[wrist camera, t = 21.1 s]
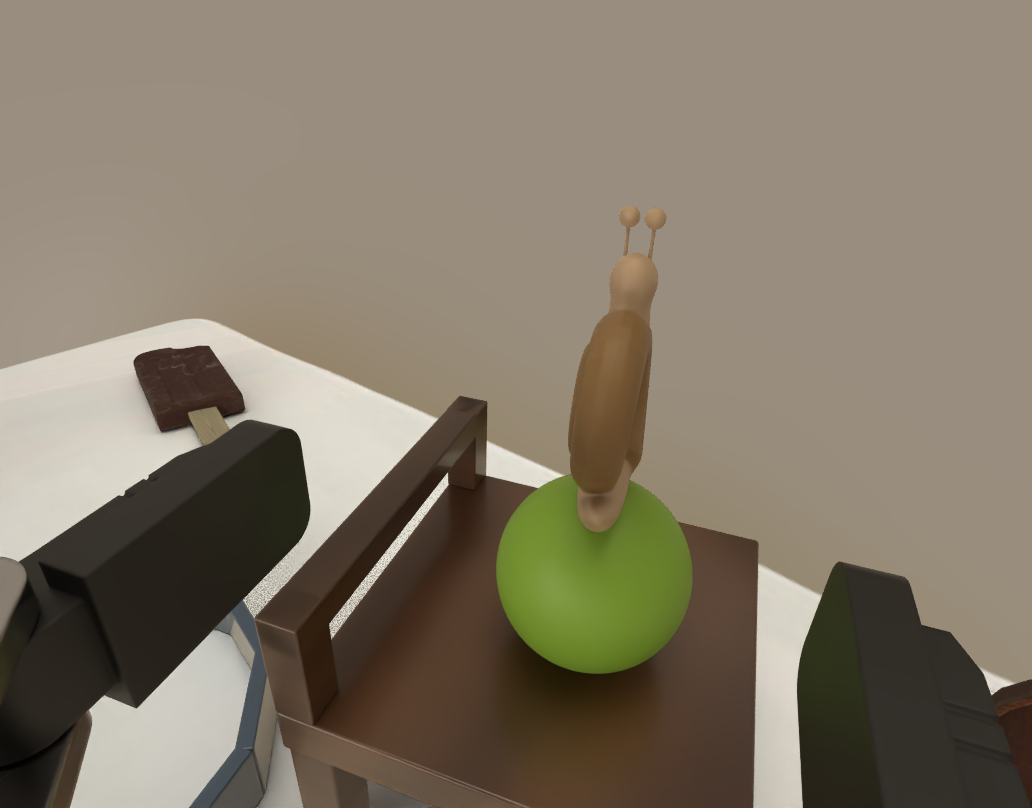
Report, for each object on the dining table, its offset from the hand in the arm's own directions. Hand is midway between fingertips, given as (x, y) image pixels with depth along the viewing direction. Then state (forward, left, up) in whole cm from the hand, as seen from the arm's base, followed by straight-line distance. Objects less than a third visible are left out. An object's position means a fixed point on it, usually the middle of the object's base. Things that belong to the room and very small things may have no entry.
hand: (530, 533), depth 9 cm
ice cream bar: (-31, +22, -16) cm, 41 cm away
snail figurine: (0, +7, -9) cm, 12 cm away
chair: (-1, +7, -16) cm, 18 cm away
